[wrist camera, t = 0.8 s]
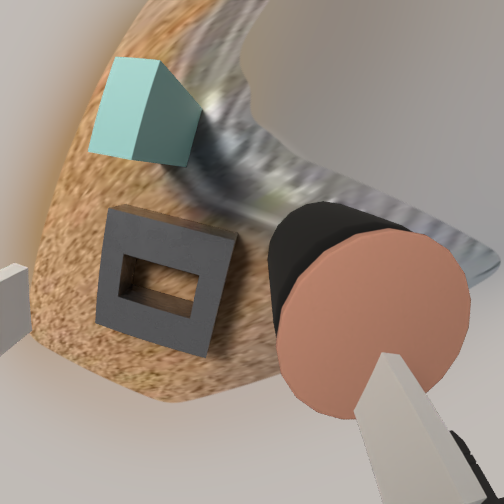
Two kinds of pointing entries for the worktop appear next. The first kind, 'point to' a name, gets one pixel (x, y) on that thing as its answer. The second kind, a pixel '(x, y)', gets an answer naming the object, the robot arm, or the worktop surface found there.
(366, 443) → the robot arm
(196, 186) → the worktop surface
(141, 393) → the worktop surface
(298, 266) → the coffee jar
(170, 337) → the block
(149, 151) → the keyed peg
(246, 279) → the worktop surface
